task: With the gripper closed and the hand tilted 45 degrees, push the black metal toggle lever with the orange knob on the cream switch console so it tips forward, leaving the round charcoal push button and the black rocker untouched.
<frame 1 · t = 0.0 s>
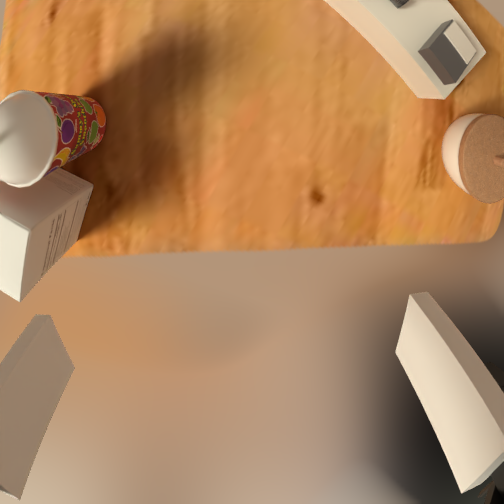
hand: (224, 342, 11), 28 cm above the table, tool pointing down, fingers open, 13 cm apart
supplement box: (59, 200, 36), on the table
lidded jar: (458, 147, 35), on the table
console: (375, 2, 27), on the table
rocker: (449, 50, 23), point 8 cm above the table, hinge at -12.0°
smoothie: (86, 124, 33), on the table
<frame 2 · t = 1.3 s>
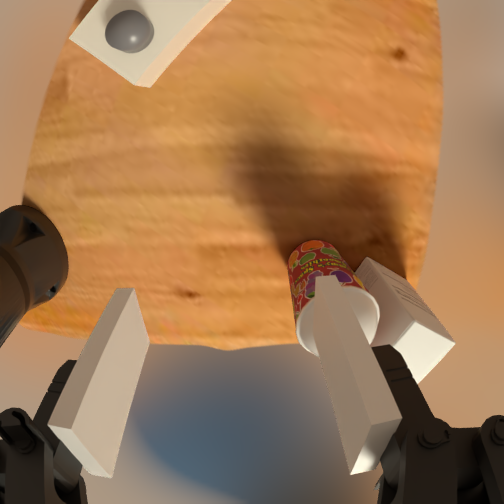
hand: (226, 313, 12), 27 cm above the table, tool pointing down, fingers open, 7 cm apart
supplement box: (370, 291, 45), on the table
button: (129, 32, 23), point 7 cm above the table, slide at 0.0 cm
smoothie: (311, 259, 42), on the table
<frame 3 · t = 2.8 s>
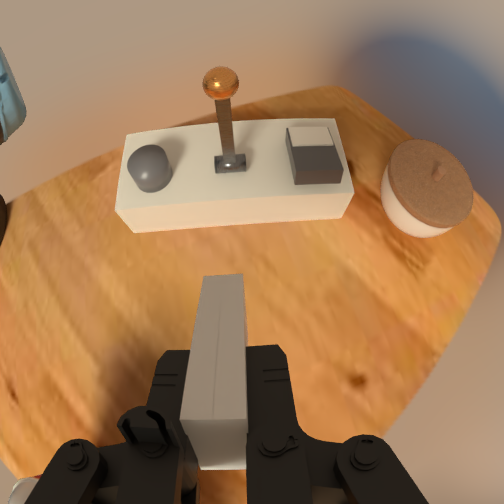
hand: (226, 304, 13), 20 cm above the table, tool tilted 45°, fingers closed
button: (150, 168, 30), point 7 cm above the table, slide at 0.0 cm
lidded jar: (407, 210, 37), on the table
console: (234, 186, 38), on the table
rocker: (312, 153, 30), point 8 cm above the table, hinge at -12.0°
lever: (226, 127, 26), point 12 cm above the table, hinge at 0.0°
smoothie: (114, 479, 27), on the table
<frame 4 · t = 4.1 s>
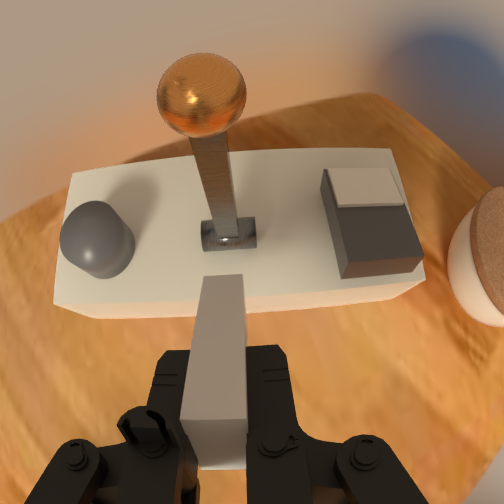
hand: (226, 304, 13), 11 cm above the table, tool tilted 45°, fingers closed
button: (97, 240, 18), point 7 cm above the table, slide at 0.0 cm
lidded jar: (472, 279, 24), on the table
console: (235, 250, 26), on the table
rocker: (369, 217, 18), point 8 cm above the table, hinge at -12.0°
lever: (218, 183, 13), point 12 cm above the table, hinge at 0.0°
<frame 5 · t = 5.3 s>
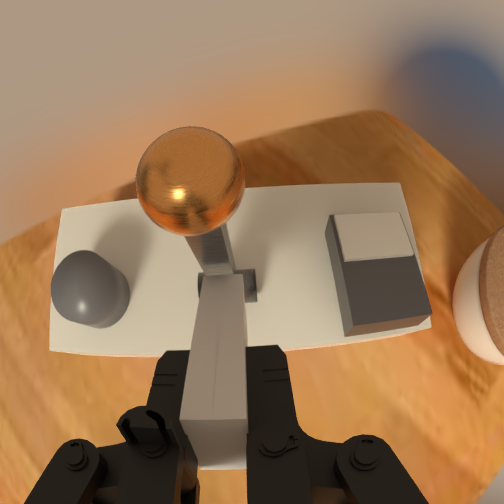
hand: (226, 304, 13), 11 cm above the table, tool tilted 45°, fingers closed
button: (90, 291, 17), point 7 cm above the table, slide at 0.0 cm
lidded jar: (477, 311, 23), on the table
console: (235, 288, 24), on the table
rocker: (376, 269, 17), point 8 cm above the table, hinge at -12.0°
lever: (215, 253, 12), point 12 cm above the table, hinge at 0.6°, touching gripper
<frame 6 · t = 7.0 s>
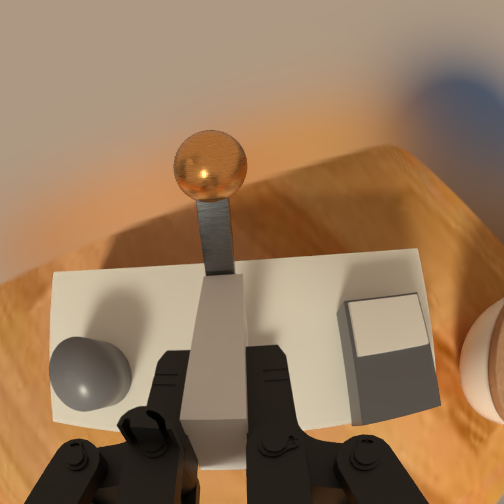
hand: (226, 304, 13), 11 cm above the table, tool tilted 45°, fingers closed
button: (90, 374, 15), point 7 cm above the table, slide at 0.0 cm
lidded jar: (482, 363, 22), on the table
console: (239, 351, 23), on the table
rocker: (389, 358, 15), point 8 cm above the table, hinge at -12.0°
lever: (223, 288, 13), point 11 cm above the table, hinge at 44.6°, touching gripper
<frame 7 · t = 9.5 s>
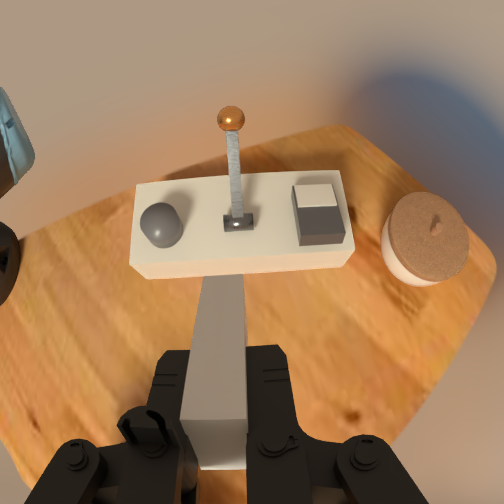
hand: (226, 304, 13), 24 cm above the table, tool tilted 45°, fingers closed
button: (161, 225, 33), point 7 cm above the table, slide at 0.0 cm
lidded jar: (405, 256, 39), on the table
console: (241, 235, 40), on the table
rocker: (317, 212, 32), point 8 cm above the table, hinge at -12.0°
lever: (234, 170, 31), point 11 cm above the table, hinge at 44.8°
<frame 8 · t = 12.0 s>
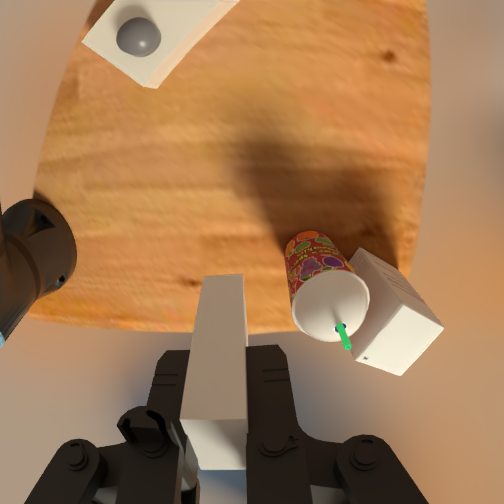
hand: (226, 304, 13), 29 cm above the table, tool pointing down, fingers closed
supplement box: (363, 280, 47), on the table
button: (139, 37, 26), point 7 cm above the table, slide at 0.0 cm
smoothie: (307, 249, 45), on the table
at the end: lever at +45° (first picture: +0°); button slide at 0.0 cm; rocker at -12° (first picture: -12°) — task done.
